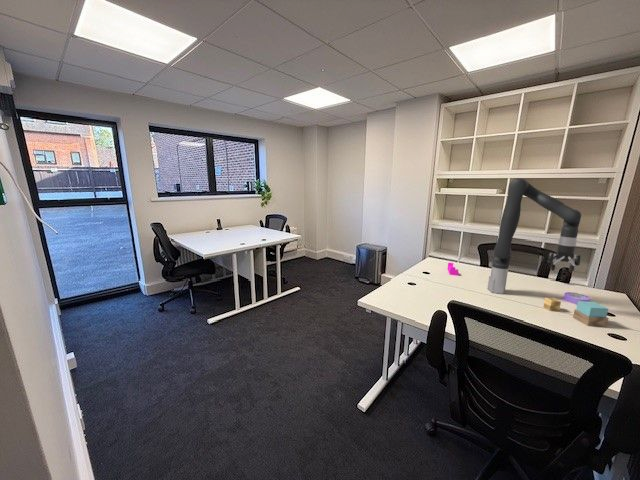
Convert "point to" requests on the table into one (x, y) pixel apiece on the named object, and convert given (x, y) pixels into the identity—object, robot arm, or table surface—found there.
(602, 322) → the tower base
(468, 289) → the table surface
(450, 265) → the magenta irregular piece
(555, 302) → the ochre block
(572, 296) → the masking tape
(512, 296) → the table surface
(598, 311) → the block
